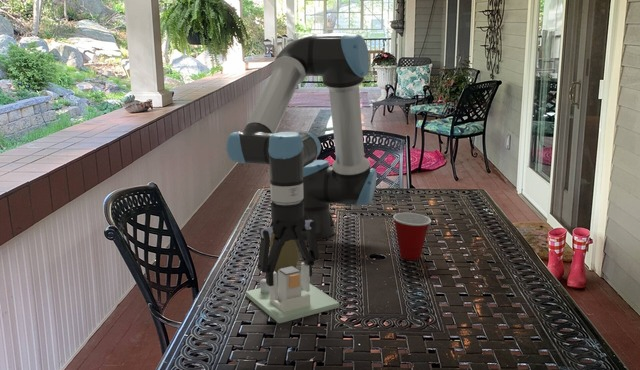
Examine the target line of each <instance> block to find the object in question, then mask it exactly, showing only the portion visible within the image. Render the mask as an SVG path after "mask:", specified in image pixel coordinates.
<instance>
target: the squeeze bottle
mask: <svg viewBox="0 0 640 370" xmlns="http://www.w3.org/2000/svg"><path fill="white" fill-rule="evenodd" d="M274 235H275V234H274V233H273V232H272V233H271V237H270V247H269V254H270V251H271V248H272V245H273V238H274ZM279 240H280V239H279ZM299 258H300V256H299V249H298V247H297V244H296V242H295V240H289V241H286V242H285V244H284V246H283V247H282V249H281V252H280V255H279V258H278V261H277V264H276V267H275V270H274V271H275V272H276V273H277V274H278V270H279V269H281V268H286V267H291V266H293V267H295V268H296V269H297V265H298V262H299Z"/></svg>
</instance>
